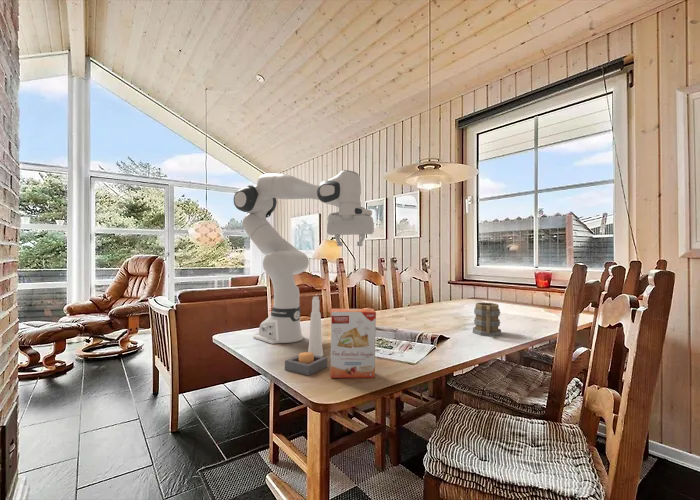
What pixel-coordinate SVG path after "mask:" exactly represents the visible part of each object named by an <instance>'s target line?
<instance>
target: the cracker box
mask: <svg viewBox="0 0 700 500" xmlns="http://www.w3.org/2000/svg"><path fill="white" fill-rule="evenodd" d="M330 315H331V316H330V317H331V320H330V321H331V322H330V323H331V324H330V325H331V326H330V379H347V378H348V379H349V378H350V379H359V378H360V379H362V378H363V379H369V378H370V379H372V378H373V379H374V378H375V376H376V335H377V334H376V333H377V332H376V331H377V330H376V328H377V327H376V324H377V323H376V322H377V313H376V310H375V309H374V308H331V314H330Z"/></svg>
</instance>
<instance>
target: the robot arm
mask: <svg viewBox="0 0 700 500" xmlns="http://www.w3.org/2000/svg"><path fill="white" fill-rule="evenodd" d="M256 182H257V183H256V185H255V186H254V185H252V184H249V185H247V186H245V187H242V188H240V189H238V190H237V191H236V192H235V193H234V196H233V205H234V206H235V208H236V209H237V210H239V211H241V212H243V213H246V215H245V216H244V217H243V219H242V221H241V223H242V227H243V228H244V231H245V232H246V234H247V236H248V237H249V238H250V240H251V241H252V242H253V243H254V245H255V246H256V247H257V248H258V249H259V251H260V252H261V253H262V254H263V255H265V256H264V258H263V260H262V267H263V270H264V272H265V273H266V274H267V275H268V277H269V278H270V280H271V284H272V289H273V307H272V308H271V307H270V308H269V312H270V315H269V316H268V317H267V318H266V319H265V320H263V321H262V322H261V323H260V324H259V326H258V327H259V328H258V332H257V333H255V334H254V335H253V337H252V338H253V339H255V340H260V341H262V342H265V343H268V344H272V345H273V344H286V343H287V344H288V343H297V342H299V341H302V340H304V337H303V334H302V328H301V319H300V317H301V306H300V289H299V286H297V284H296V282H295V279H294V276H295V275H299V274H302V273H304V272H305V271H306V270H307V269H308V267H309V264H310V260H309V258H308V257H309V256H307V254H306V253H304V252H302V251H300V250H299V249H297V248H296V247H295V246H293V245H292V244H291V243H290V242H288V241H287V240H286V239H285V238H284V237H282V236H281V235H280V233H279V232H278V231H277V230H276V228H274V227H273V225H272V224H270V222H269V221H268V219H267V218H269V217H271V216H272V214H273V212H274V211H275V210H276V207H277V203H278V200H277V199H279V200H304V199H305V200H307V199H309V200H319V201H320V202H321V203H324V204H328V205H331V206H335V207H337V208H338V211H336V212H331V213H329V215H328V217H327V223H326V225H327V226H326V234H327V235H328V236H334V239H335V242H336V246H337V247H343V241H341V240H340V238H341V236H345V235H346V236H347V235H353V236H354V235H358V237H359V241H356V246H357V247H363V242H364V240H365V239H366V235H372V234H374V230H375V225H374V224H375V223H374V218H373V217H372V215H373V210H371V209H369V208H365V207H363V206H362V203H361V195H362V185H361V183H362V182H361V177H360V174H359V173H357V172H356V171H353V170H349V169H347V170H341V171H339V173H338V174H337V175H336V176H333V177H331V178H330V179H325V180H322V181H321V182H320V183H319V185H317V184H313V183H310V182H307V181H306V180H302V179H300V178H298V177H296V176H294V175H293V176H292V175H290V174H287V173H286V174H285V173H281V172H280V173H278V172H277V173H276V172H271V173H263V174H261V175H260V176H259V177H258V179H257V181H256Z"/></svg>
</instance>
